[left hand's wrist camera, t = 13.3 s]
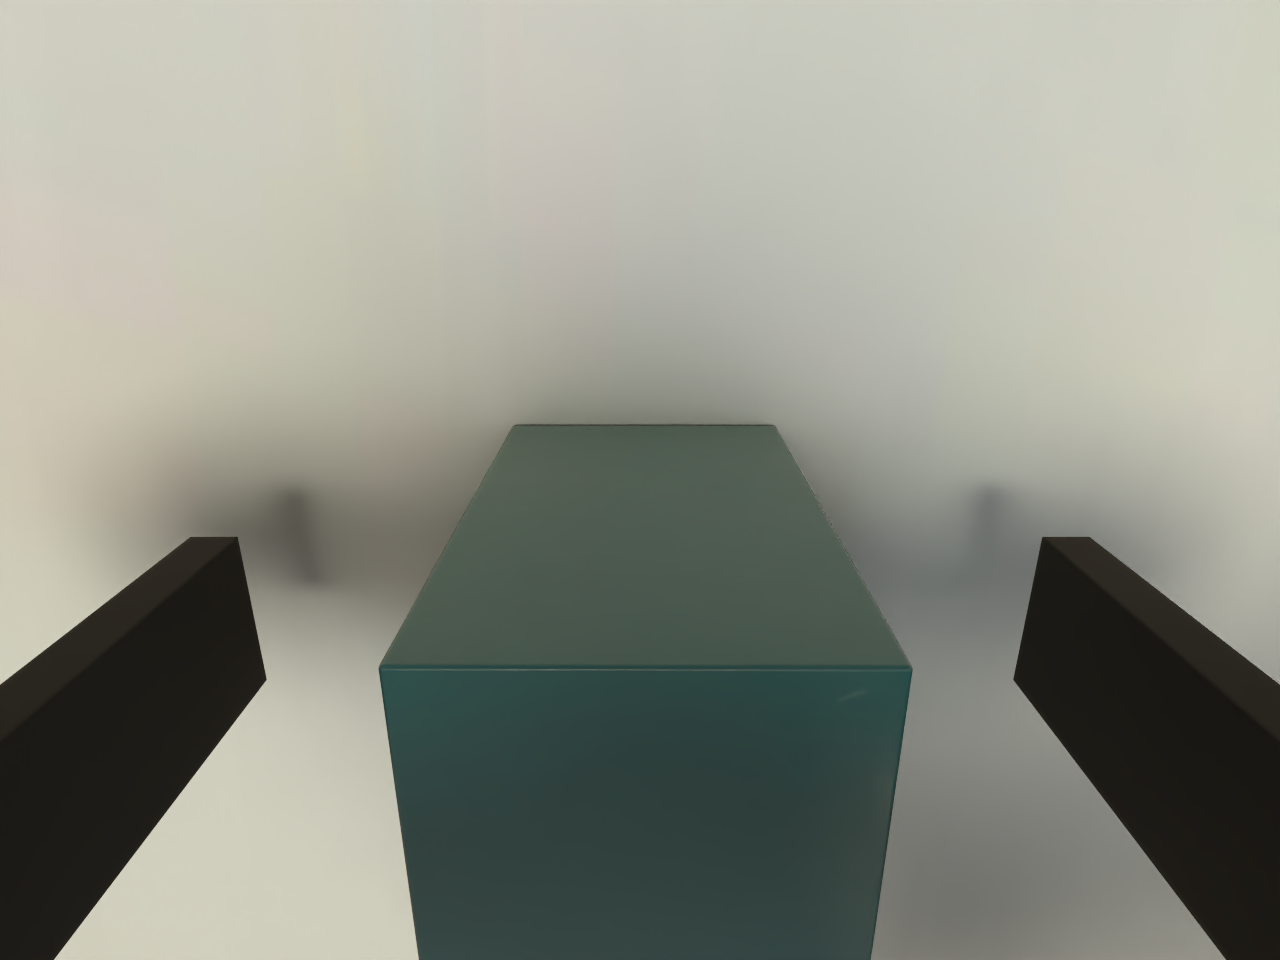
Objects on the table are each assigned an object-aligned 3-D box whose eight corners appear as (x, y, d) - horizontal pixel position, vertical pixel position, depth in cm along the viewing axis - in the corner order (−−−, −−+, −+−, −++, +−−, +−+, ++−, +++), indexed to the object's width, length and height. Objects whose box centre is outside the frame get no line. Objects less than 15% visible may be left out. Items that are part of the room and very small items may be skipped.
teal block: (775, 424, 15) (915, 667, 7) (760, 650, 16) (861, 1036, 9) (512, 424, 15) (376, 667, 7) (525, 650, 16) (427, 1035, 9)
